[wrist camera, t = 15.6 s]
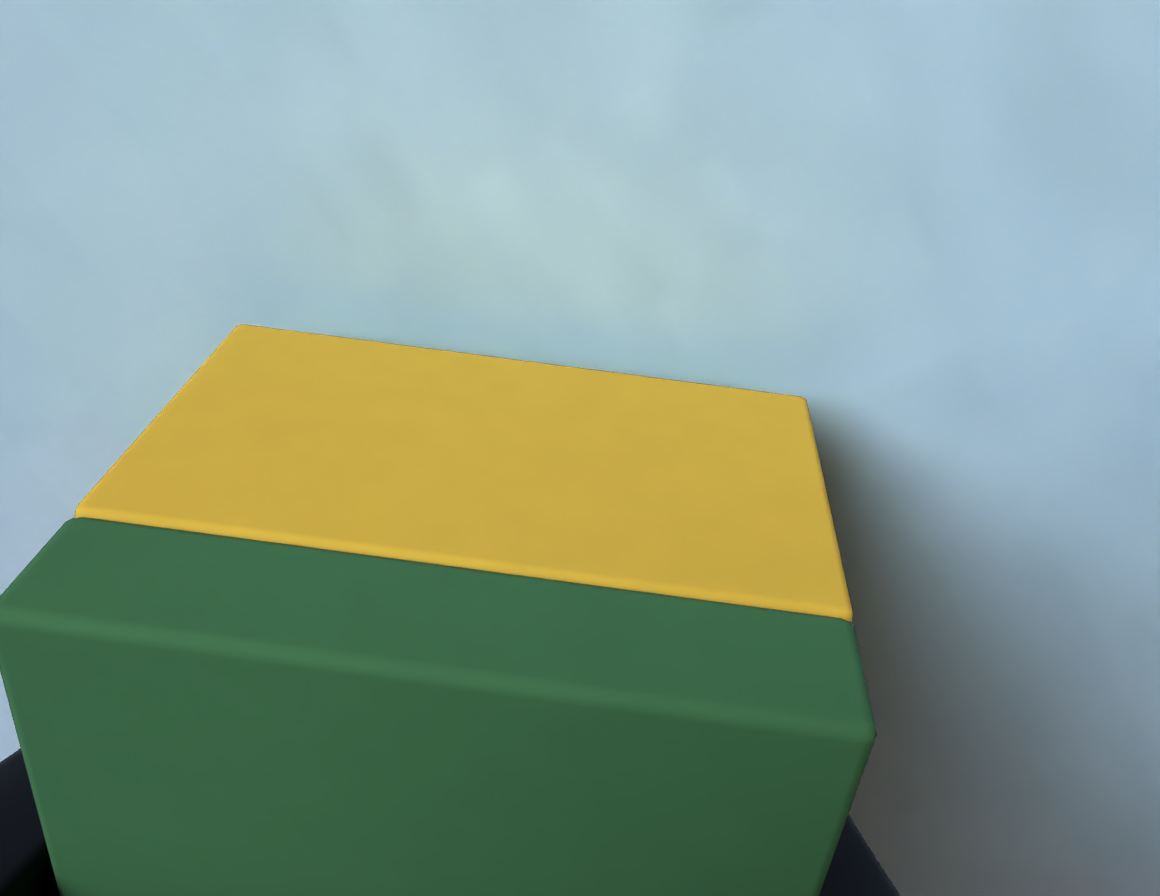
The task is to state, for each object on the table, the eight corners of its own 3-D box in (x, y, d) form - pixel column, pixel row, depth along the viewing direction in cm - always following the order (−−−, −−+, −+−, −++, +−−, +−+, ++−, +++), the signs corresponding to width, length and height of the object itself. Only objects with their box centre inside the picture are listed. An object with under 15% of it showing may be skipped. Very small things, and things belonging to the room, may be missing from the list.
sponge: (808, 393, 8) (884, 734, 5) (687, 879, 11) (689, 1266, 8) (237, 320, 8) (-26, 612, 5) (277, 822, 11) (132, 1184, 8)
